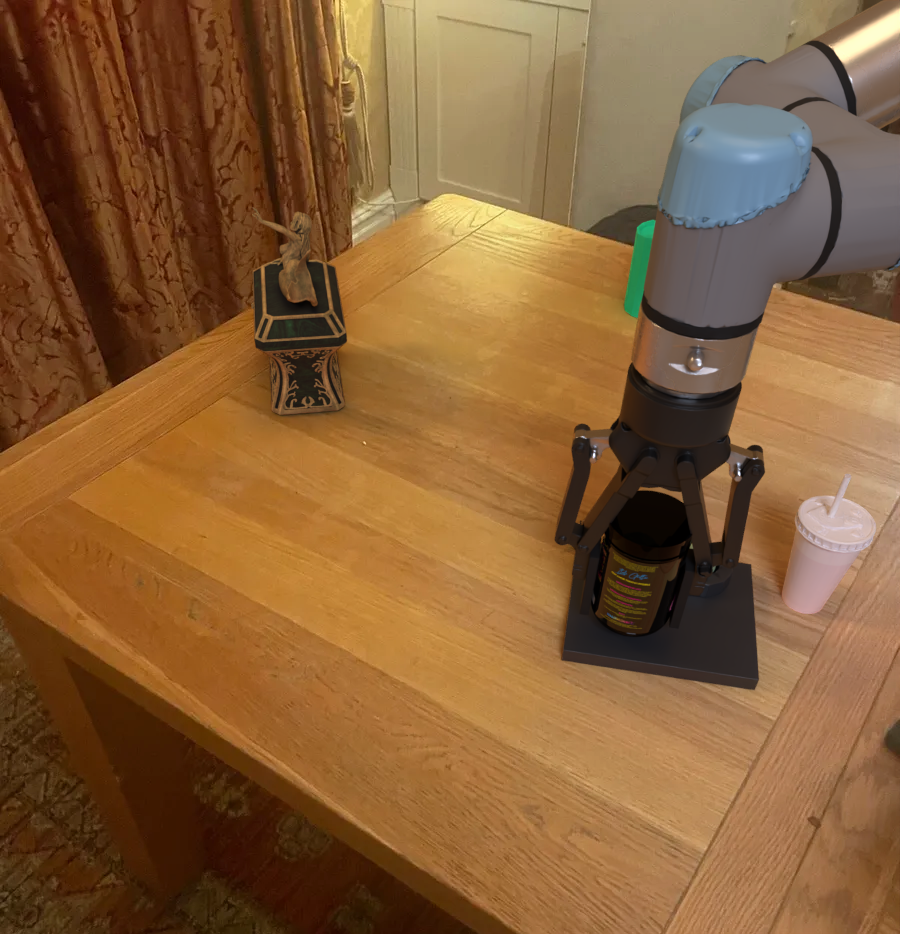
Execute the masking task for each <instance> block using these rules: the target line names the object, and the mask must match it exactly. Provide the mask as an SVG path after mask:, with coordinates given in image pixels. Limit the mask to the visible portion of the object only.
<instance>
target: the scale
mask: <svg viewBox="0 0 900 934" xmlns="http://www.w3.org/2000/svg"><path fill="white" fill-rule="evenodd" d="M691 544H692V543H691ZM601 545H602V542H601ZM600 551H601V548H600ZM570 584H571V585H570V593H569V601H568V608H567V615H566V621H565V622H566V623H565V631H564V638H563V645H562V646H563V647H562V655H561V661H563V662H569V663H576V664H583V665H589V666H596V667H602V668H607V669H615V670H622V671H626V672H627V671H628V672H635V673H641V674H646V675H654V676H659V677H666V678H674V679H679V680H685V681H686V680H687V681H691V682H698V683H707V684H710V685H711V684H712V685H718V686H726V687H731V688H739V689H745V690H750V691H755V690H756V689H757V686H758V684H759V681H760V674H759V673H760V672H759V659H758V644H757V631H756V630H757V629H756V614H755V600H754V585H753V572H752V563H746V562H740V561H739V562H738V565H737V566H736V567H734V568H726V567H724V566H723V565H718V566H716V567H715V570H714V572H713V573H712V575H711V576H710V577H708V578H707V581H706V584H705V587H704V590H703V593H702V594H701V595H700V596H694V595H688V599H687V602H686V605H685V609H684V612H683V615H682V619H681V622H680V625H679V629H677V628H670V627H669V619H670V617H669V619H668V621H667V623H666V624H665V625H664V626H663V627H662V628H661V629H660V630H659V631H657V632H655V633H653V634H651V635H648V636H643V637H627V636H622V635H619V634H616V633H614V632H612V631H610V630H608V629H607V628H605V627H604V626H603V625H602V624H601V623H600V622H599V621H598V620H597V619H596V617H595V615H594V613H593V611H592V607H591V605H590V610H589V615H582V614H580V606H581V597H582V590H583V584H584V580H580V579H574V578H573V576H572V577H571V583H570Z"/></svg>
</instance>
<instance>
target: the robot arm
mask: <svg viewBox="0 0 900 934" xmlns="http://www.w3.org/2000/svg"><path fill="white" fill-rule="evenodd" d="M899 119H900V0H880V1H878V2H876V3H875V4H873V5H872V6H870V7H868V8H866V9H864V10H863V11H861V12H859V13H857V14H855V15H853V16H852V17H851V18H848V19H846V20H844V21H843V22H841V23H839V24H838V25H836V26H834V27H831V28H830V29H829V30H827V31H825V32H823V33H822V34H821V33H820V35H818V36H816V37H814V38H813V39H811V40H809V41H807V42H805V43H803V44H802V45H800V46H798V47H796V48H794V49H792V50H790V51H788V52H786V53H784V54H783V55H780V56H779V57H777V58H775V59H773V60H771V61H769V62H766V61H765V60H764V59H761V58H760V57H757V56H755V57H752V56H747V55H742V54H737V55H730V56H729V55H728V56H725V57H723V58H719V59H718V60H716V61H714V62H713V63H712V64H710V65H709V66H707V67H706V68H704V69H703V71H702V72H700V74H699V75H698V76H697V77H696V78H695V80H694V81H693V82H692V84H691V86H690V87H689V89H688V91H687V92H686V94H685V97H684V99H683V102H682V106H681V109H680V113H679V125H678V126H677V129H676V131H675V134H674V136H673V141H672V143H671V147H670V151H669V153H668V155H667V160H666V164H665V165H666V166H665V168H664V173H663V178H662V181H661V184H660V188H658V194H657V198H656V204H657V211H656V216H655V220H656V221H655V227H654V233H653V238H652V244H651V250H650V255H649V261H648V267H647V272H646V278H645V284H644V292H643V296H642V301H641V303H640V308H639V314H638V318H636V323H635V324H636V325H635V330H634V335H633V341H632V347H631V354H630V360H631V363H630V364H629V366H628V369H627V375H626V378H625V385H624V390H623V396H622V401H621V406H620V412H619V415H618V417H617V418H616V420H615V421H613V422H612V424H611V426H610V428H604V429H591V426H589V425H588V424H586V423H578V424H577V425H576V426H575V427H574V430H573V435H572V436H573V437H572V443H571V449H570V450H571V457H572V466H571V470H570V474H569V477H568V481H567V484H566V487H565V491H564V495H563V498H562V501H561V505H560V509H559V513H558V514H557V515H558V516H557V520H556V526H555V531H554V542H555V544H557V545H558V546H568V545H569V546H571V547H572V548H573V549H574V555H573V563H572V570H571V575H572V577H573V578H574V579H580V580H584V584H583V590H582V597H581V606H580V614H582V615H589V610H590V605H591V600H592V594H593V589H594V584H595V579H596V574H597V568H598V563H599V557H600V548H601V543H602V539H603V535H604V533H605V531H606V530H607V529H608V527H609V523H612V522H613V520H614V519H615V518H616V516H617V515H618V513H619V512H620V511H621V509H622V508H623V506H624V505H625V504H626V502H627V501H628V500H629V499H632V498H633V496H634V495H635V494H636V492H637V491H638V490H640V488H644V489H656V488H661V489H664V490H665V491H666V490H667V491H669V492H677V493H681V497H682V502H683V503H684V506H685V509H686V514H687V519H688V525H689V530H690V534H693V535H692V538H691V540H692V546H693V549H690V548H689V550H688V554H687V557H686V561H685V564H684V568H683V571H682V575H681V578H680V582H679V585H678V589H677V592H676V596H675V599H674V603H673V606H672V610H671V613H670V619H669V627H670V628H677V629H679V625H680V622H681V619H682V615H683V612H684V609H685V605H686V602H687V599H688V595H694V596H700V595H701V594H702V593H703V590H704V587H705V584H706V581H707V578H708V577H710V576H711V575H712V573H713V567H715V566H718V565H723V566H724V567H726V568H734V567H736V566H737V565H738V562H739V563H740V557H741V552H742V546H743V541H744V537H745V530H746V526H747V519H748V516H749V511H750V510H749V509H750V506H751V505H750V504H751V500H752V499H751V498H752V494H753V492H754V490H755V488H756V487H757V486H758V484H759V483H760V481H761V480H762V478H763V477H764V475H765V473H766V468H765V456H764V449H763V447H762V446H761V445H759V444H751V445H749V446H747V448H746V447H745V448H744V447H742V446H739V445H737V444H733V443H731V441H732V440H731V438H730V430H731V427H732V425H733V420H734V416H735V414H736V410H737V406H738V403H739V400H740V396H741V393H742V390H743V383H742V381H743V380H744V378H745V377H746V376H747V371H748V367H749V365H750V361H751V357H752V354H753V350H754V347H755V343H756V339H757V335H758V332H759V329H760V326H761V325H760V324H761V323H762V321H763V318H764V315H765V311H766V309H767V305H768V302H769V300H770V296H771V294H772V291H773V287H774V286H775V285H776V284H780V283H781V284H782V283H786V282H795V281H803V280H806V279H815V278H823V277H824V278H825V277H832V276H842V275H849V274H851V275H852V274H858V273H868V272H875V271H877V272H878V271H883V272H888V271H894V270H895V269H897V268H899V267H900V134H896V133H890V132H886V131H884V130H883V129H882V128H884V127H887V126H888V125H890V124H893V123H894V122H896V121H898V120H899ZM609 448H610V450H611V451H612V453H613V455H614V456H615V458H616V459H617V461H618V462H619V465H618V467H617V471H616V472H615V475H613V477H612V478H611V479H610V481H609V483H608V484H607V486H606V487H605V488H604V490H603V492H602V493H601V494H600V496H598V499H597V501H595V503H594V504H593V506H592V507H591V509H590V510H589V512H588V513H587V515H586V516H585V517H584V519H583V520H582V519H580V520H579V522H577V520H578V519H577V518H578V515H579V512H580V508H581V507H582V506H581V505H582V502H583V499H584V495H585V492H586V489H587V485H588V482H589V480H590V475H591V469H592V464H596V463H597V462H598V461H599V460H600V459H601V458H602V456H603V452H604V451H605V450H607V449H609ZM725 463H726V464H727V465H728V474H729V476H730V477H731V481H730V482H731V483H730V488H729V494H728V501H727V506H726V512H725V517H724V522H723V523H724V524H723V528H722V529H723V530H722V535H721V540H720V541H714V542H712V536H711V531H710V524H709V517H708V512H707V506H706V501H705V496H704V489H703V484H702V480H703V479H705V478H706V477H707V476H709V475H711V474H712V473H713V472H714V471H716V470H717V469H718V468H720V467H722V465H724V464H725Z"/></svg>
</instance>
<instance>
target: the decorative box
mask: <svg viewBox="0 0 900 934" xmlns="http://www.w3.org/2000/svg"><path fill="white" fill-rule="evenodd" d="M252 210H253V211H255V212H253V213H252V214H251V216H252V217H254V219H256V221H258V222H259V223H260V224H262V225H263V226H266V227H269V228H270V229H272V230H273V231H276V232H278V233H280V234H283V235H284V236H285V237H287V238H288V242H287V243H284V244H281V245H280V246H279V253H280V255H281V257H279V258H276V259H273V260H272V261H269V262H266V263H265V264H262V265H260V266H259V267H257V268H255V269H253V270H252V300H253V301H252V303H251V304H250V307H251V309H252V310H253V334H254V335H253V339H254V345H255V348H256V349H257V350H258V351H260V352H261V353H263V354H265V355H267V356H268V363H269V365H268V366H269V384H270V385H269V387H270V404H271V412H273V413H275V414H277V415H279V416H282V415H283V416H284V415H296V414H309V413H320V412H323V413H324V412H335V411H339V410H341V409H343V408H344V407H345V406H346V401H345V395H344V389H343V382H342V374H341V367H340V360H339V355H338V351H339V350H340V349H341V348H342V347H343V346H345V345H346V344H347V342H348V333H347V327H346V321H345V316H344V315H345V314H344V310H343V305H342V304H343V303H342V297H341V291H340V285H339V279H338V274H337V268H336V266H335V265H333V264H331V263H328V262H325V261H322V260H320V259H310V257H311V252H312V248H311V237H310V235H311V233H312V229H313V228H312V227H313V224H312V218H311V216H310V215H309V214H307V213H305V212H301V211H295V212H294V214H293V217H292V221H290V222H289V224H290V226H289V227H290V229H288V228H287V227H285V226H283V225H281V224H278V223H276V222H272V221H269V220H265V219H263V218H262V216H261V214H260V212H259V211H258V209H257V208H256V207H254V206H252Z"/></svg>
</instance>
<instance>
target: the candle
mask: <svg viewBox="0 0 900 934" xmlns="http://www.w3.org/2000/svg"><path fill="white" fill-rule="evenodd" d="M655 221H656V219H650V220H647V221H644V222H641V223H640V224H639V225H637V227H636V231H635V237H634V243H633V249H632V254H631V262H630V266H629V273H628V279H627V284H626V289H625V290H626V291H625V296H624V301H623V309H624V312H626V313H627V314H628V315H629V316H630V317H633V318H636V319H638V314H639V308H640V303H641V301H642V296H643V292H644V284H645V278H646V272H647V267H648V261H649V255H650V250H651V244H652V238H653V233H654V227H655Z"/></svg>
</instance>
